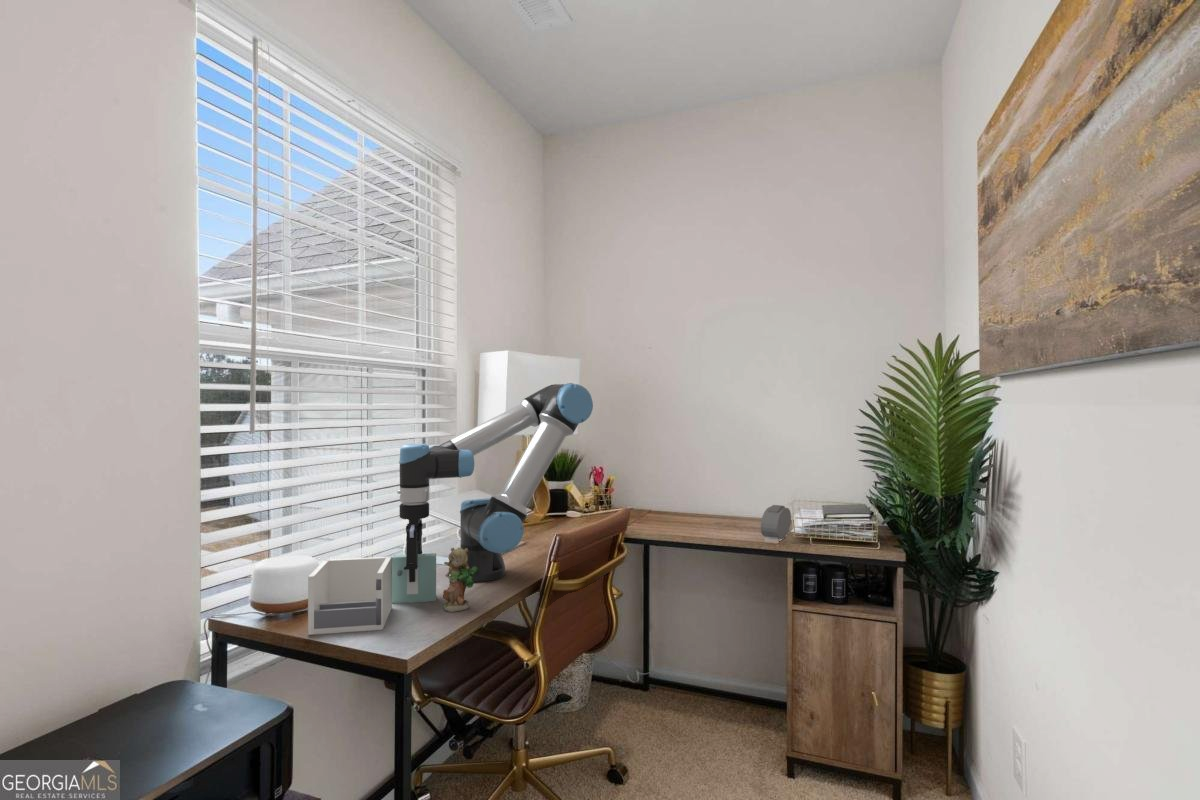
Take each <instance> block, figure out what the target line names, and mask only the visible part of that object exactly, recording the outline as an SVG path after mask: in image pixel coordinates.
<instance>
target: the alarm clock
mask: <svg viewBox="0 0 1200 800" xmlns="http://www.w3.org/2000/svg"><path fill="white" fill-rule="evenodd" d="M791 512H792V511H791V509H790V508H788V507H786V506H784V505H780V504H772V505H771V506H768V507H767V508H766V509H765V510H764V512H763V514H762V517H761V520H760V526H759V527H760V533H761V535H762V537H764V542H765V541H779V540H780V539H783V538H784V537H785V536H786V535H787V534H788V533H789V531H790V528H791V524H792V513H791ZM787 536H788V535H787ZM787 536H786V537H787ZM786 537H785V538H786ZM785 538H784V539H785ZM784 539H783V540H784Z"/></svg>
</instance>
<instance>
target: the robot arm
mask: <svg viewBox="0 0 1200 800" xmlns="http://www.w3.org/2000/svg"><path fill="white" fill-rule="evenodd" d="M593 409H594V402H593V399H592V395H591V393H590V391H588V389H587V388H585V386H583V385H580V384H576V383H573V382H569V383H563V384H562V383H559V384H557V383H554V384H550V385H547V386H545V387H543V388H542V389H539V390H537V391H536V392H533V393H532V394H530V395H529V396H527V397H524V398H523V399H521V400H520V403H519V405H516V406H515V407H511V408H510V409H508V410H507V411H504V412H502V413H500V414H498V415H496V416H494V417H492V418H490V419H489V420H487V421H485V422H482V423H480V424H479V425H477V426H474V427H472V428H470V429H468V430H466V431H465V432H463V433H460V434H459V435H457V436H455V437H453V438H451V439H448V441H445V442H442V443H441V444H439V445H433V446H429V444H427V443H408V444H406V443H405V444H404V445H402V446H401V447H400V450H399V461H398V463H399V490H397V492H396V494H398V495H399V502H400V505H399V519H403V520H408V523H407V524H406V526H405V533H406V539H405V541H406V554H405V555H406V567H404V570H407V594H418V566H417V562H418V554H423V548H422V547H423V544H422V543H423V539H422V537H423V529H424V523H423V521H422V519H426V518H428V517H429V515H430V503H429V501H430V480H436V479H451V478H460V479H461V478H464V477H470V476H472V475H473V473H474V471H475V465H476V464H475V457H474V456H476V455H478V454H480V453H481V452H483V451H486V450H487V449H490V448H492V447H493V446H495V445H497V444H499V443H501V442H503V441H504V440H506V439H508V438H510V437H512V436H514V435H517V434H518V433H520V432H522V431H524V430H526V429H528V428H529V427H531V426H532V427H534V428H536V427H537V428H536V430H535V432H534V433H533V435H532V437H531V438H530V440H529V442H528V444H527V446H526V447H525V449H524V451H523V452H522V454H521V456H520V458H519V459H518V461H517V463H516V465H515V467H513V469H512V471H511V473H510V475H509V476H508V479H507V480H506V482H505V484H504V485H503V487H502V488H501V490H500V492H499V493H497V494H493V495H492V496H491V497H487V498H474V499H473V498H472V499H466V500H465V499H464V500H462V502H461V503H460V510H459V514H460V548H462V549H463V550H465V548H466V549H468V551H467V556H468V560H467V564H468V567H469V569H471V568H472V567H477V568H478V570H477V573H475V574H474V575H473V576H472V578H473V582H474V583H478V582H479V583H481V582H488V581H489V582H490V581H494V580H497V579H500V578H502V577H504V576H505V574H506V564H505V561H504V558H503V556H502V554H504V553H508V552H510V551H513V550H514V549H515V548H516V547H517V546H519V544H520V542H521V541H522V539H523V536H524V522H525V520H526V518H527V517H528V512H527V506H528V504H529V503H530V501H531V498H533V496H534V494H535V492H536V490H537V488H538V486H539V485H540V483H541V481H542V480H543V478H544V476H545V474H546V473H547V471H548V469H549V467H550V465H551V464H552V462H553V460H554V458H555V457H556V454H557V453H558V451H559V449H560V447H561V445H562V443H563V442H564V440H565V438H566V437H569V436H572V435H573V434H574V432H575V431H576V429H577V427H578V426H579V424H582V423H584V422H585V421H587V420H588V419H589V418H590V417H591V415H592V412H593ZM469 569H468V570H469Z"/></svg>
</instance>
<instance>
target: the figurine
mask: <svg viewBox="0 0 1200 800" xmlns="http://www.w3.org/2000/svg"><path fill="white" fill-rule="evenodd" d="M450 551H451V552H450V553H449V555H448V557H447V558H448V561H445V562H443V564H444V565H446V566H448V572H447V573H446V574H445V577H446V578H447V579H448V582H449V585H448V587H447V589H443V592H442V599H443V600H444V601H447V602H446V603H444V605H443V606H442V609H443V610H444V611H445V612H451V613H454V612H461V611H465V610H467V609H469V607H470V605H471V604H470V603H469V601H468V600H467V599H465V592H466V589H467V588H469V589H471V588H473V586H474V584H475V582H473V578H472V576H473V575H474V574H475V573H477V570H478V568H477V567H472V568H471V569H469V567H468V564H467V560H468V556H467V551H468V549H466V548H465V550H463V549H462V548H461V547H457V548H454V547H452V548H450ZM468 569H469V570H468Z"/></svg>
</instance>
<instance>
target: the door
mask: <svg viewBox="0 0 1200 800" xmlns="http://www.w3.org/2000/svg"><path fill="white" fill-rule="evenodd" d="M417 566H418V594H407V570H404V567H406V554H393V555H392V604H405V603H420V602H421V603H422V602H436V599H437V553H436V552H435V553H434V552H432V553H431V552H430V553H422V554H418V562H417Z"/></svg>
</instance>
